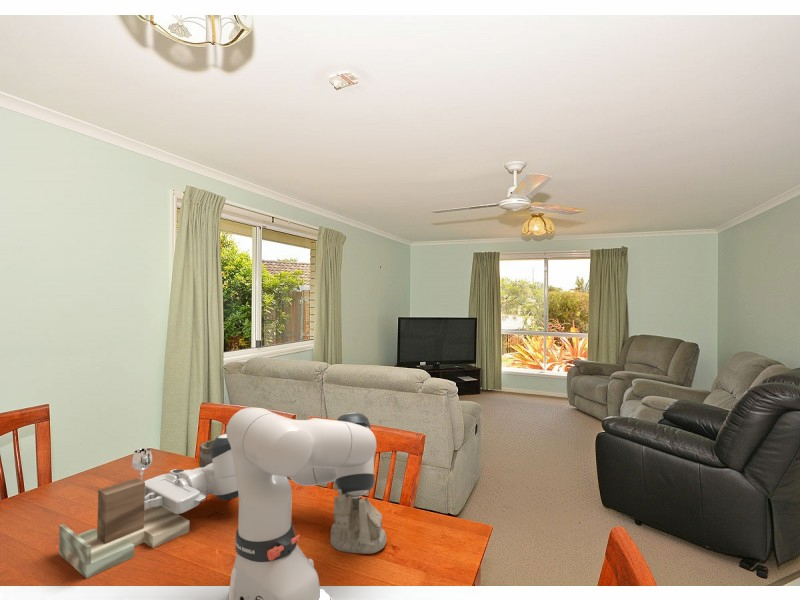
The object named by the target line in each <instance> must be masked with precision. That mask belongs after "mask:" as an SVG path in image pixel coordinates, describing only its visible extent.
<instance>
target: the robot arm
mask: <svg viewBox="0 0 800 600" xmlns="http://www.w3.org/2000/svg"><path fill="white" fill-rule="evenodd" d="M371 427H372V426H371V423H370V420H369V418H368V417H367V416H366V415H365V414H364V413H358V412H349V413H345V414H343V415H340V416H339V417H337V419H326V418H320V417H319V418H316V417H313V418H310V419H294V418H289V417H286V416H282V415H280V414H278V413H275V412H272V411H270V410H268V409H266V408H263V407H245V408H242V409H240V410H238V411H237V412H235V413H234V414H233V415H232V417H230V419H229V421H228V423H227V425H226V430H225V431H226V432H225V433H224V434H221V435H218V436H216V437H215V439H213V440H214V441H213V443H212V444H211V446H210V448H209V449H210V454H211V459H212V463H211V464H208V465H207V466H205V467H202V468H199V467H195V468H193V469H178V468H176V469H175V468H174V469H171V470H170V471H169V473H164V474H160V475H157V476H154V477H151V478H149V479H146V480H144V481H143V482H145V503H144V510H145V509H147V508H150V507H157V506H160V505H161V506H162V507H164V508H166V509H168V510H169V511H171V512H173V513H175V514H178V515H180V514H183V513H185V512H188V511H190V510H192V509H193V508H196V507H197V506H199V505H200V502H203V501H206V499H207V498H208V495H211V494H213V496H214V497H215V498H217V499H220V500H221V501H223V502H224V501H225V502H227V501H231V500H235V499H237V498H238V515H237V516H238V517H237V518H238V519H237V520H238V522H237V524H238V526H237V527H238V528H237V529H236V531H235V539H234V544H235V548H234V549H235V553H236V556H235V560H234V563H233V567H232V569H231V575H230V583H229V591H228V596H229V599H228V598H227V600H319V598H320V589H323V588H322V586H320V579H319V575H318V572H317V570H316V568H315V563H314V560H313V559H312V558H308V557H307V556H306V555H305V554H304V553H303V551H302V550H301V548H300V546H299V545H298V542H299V541H300V540H301V538H300V536H301V535H300V534H297V535H296V531H295V527H294V524H293V522H292V508H293V507H292V505H293V503H292V502H293V500H292V497H293V490H292V486H291V483H290V481H289V479H288V478H290V480H292V481H293V482H294V483H296V484H298V485H299V486H301V487H303V486H304V487H305V486H306V487H308V486H311V487H312V486H317V485H323V484H328V483H332V482H333V483H334V484H335V486H336V489H337V491H338V490H339V489H342V493H345V495H347V496H349V497H358V496H359V497H362V496H363V495H365V494H367V493H369V492H371V490H372V489H373V488H374V487H375V479H376V478H375V476H376V475H375V474H374V472H375V471H374V470H375V467H374V466H375V465H374V464H375V460H374V459H375V458H374V456H375V454H376V450H377V439H376V435H375V434H374V432H373V431H372V430H371Z"/></svg>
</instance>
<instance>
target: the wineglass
mask: <svg viewBox="0 0 800 600" xmlns="http://www.w3.org/2000/svg"><path fill="white" fill-rule="evenodd" d="M131 461H132V462H131V465H132V468H133V469H134V470H136V471H140V473H139V475H140V480H141V481H143V478H144V474H145V473H144V470H146V469H148V468H150V467H151V465H152V463H153V454H152V451H151V448H148V447H146V448H145V447H144V448H139V449H135V450H134V452H133V456H132V459H131ZM143 482H144V481H143Z"/></svg>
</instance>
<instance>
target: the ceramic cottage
mask: <svg viewBox="0 0 800 600" xmlns="http://www.w3.org/2000/svg"><path fill="white" fill-rule="evenodd" d="M333 500H334V501H333V502H334V503H333V514H332V515H333V517H332V518H333V519H334V521H333V523H331V524H332V525H331V527H330V542H329V543H330V545H331V547H333V548H334V549H336V550H337V551H339V552H343V553H353V554H363V555H366V554H368V555H369V554H375V553H378V552H380V551H382V549H384V547H385V546H386V543H387V535H386V532H385V530H384V529H383V528H382V527H383V521H382V519H383V515H382V513H381V512H380V511H379V510H378V509H377V508H376V507H374V506H373V504H372V503H371V501H370V500H369V498H368V497H366V498H365V499H364V498H363V497H362V496H358V497H350V496H347V495H345V493H342V489H339V490H338V489H337V496H334V497H333Z"/></svg>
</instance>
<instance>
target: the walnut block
mask: <svg viewBox="0 0 800 600" xmlns="http://www.w3.org/2000/svg"><path fill="white" fill-rule="evenodd" d="M97 494H98V495H97V523H96V524H97V529H96V530H97V538H98V539H99V540H100V541H102V542H103V543H104V544H106V543H109V542H111V541H114V540H116V539H119V538H121V537H124V536H126V535H128V534H131V533H133V532H136V531H138V530H141V529H143V528H144V510H145V509H144V503H145V482H144V481H141V479H140V478H138V477H137V478H133V479H130V480H126V481H123V482H121V483H116V484H113V485H110V486H108V487H104V488H101V489H98V491H97Z"/></svg>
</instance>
